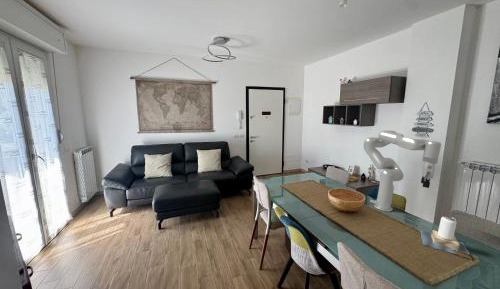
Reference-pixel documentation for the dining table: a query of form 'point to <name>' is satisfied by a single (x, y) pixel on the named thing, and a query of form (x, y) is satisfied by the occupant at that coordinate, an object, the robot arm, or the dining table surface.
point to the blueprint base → (430, 243)
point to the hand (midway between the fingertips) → (424, 185)
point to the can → (447, 227)
